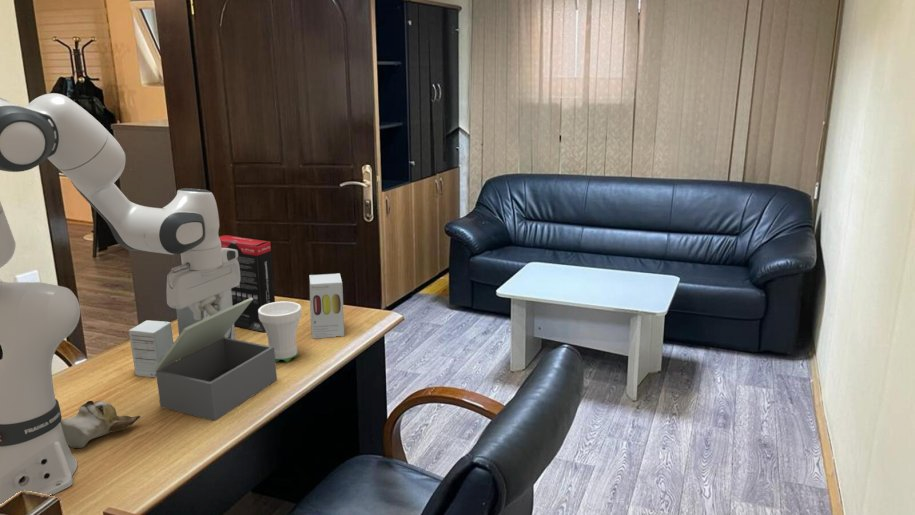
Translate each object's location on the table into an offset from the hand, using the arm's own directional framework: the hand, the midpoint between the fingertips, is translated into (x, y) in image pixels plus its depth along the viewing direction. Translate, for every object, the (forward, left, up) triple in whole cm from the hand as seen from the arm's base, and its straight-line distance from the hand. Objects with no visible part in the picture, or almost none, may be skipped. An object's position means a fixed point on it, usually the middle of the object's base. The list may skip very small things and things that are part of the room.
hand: (207, 314), depth 158 cm
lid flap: (0, +1, -5) cm, 5 cm away
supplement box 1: (+3, +23, -20) cm, 31 cm away
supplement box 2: (+43, -3, -20) cm, 48 cm away
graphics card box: (+38, +22, -20) cm, 48 cm away
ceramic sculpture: (-25, +10, -20) cm, 34 cm away
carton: (0, -1, -20) cm, 20 cm away
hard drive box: (+17, +18, -20) cm, 32 cm away
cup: (+23, -2, -20) cm, 31 cm away
